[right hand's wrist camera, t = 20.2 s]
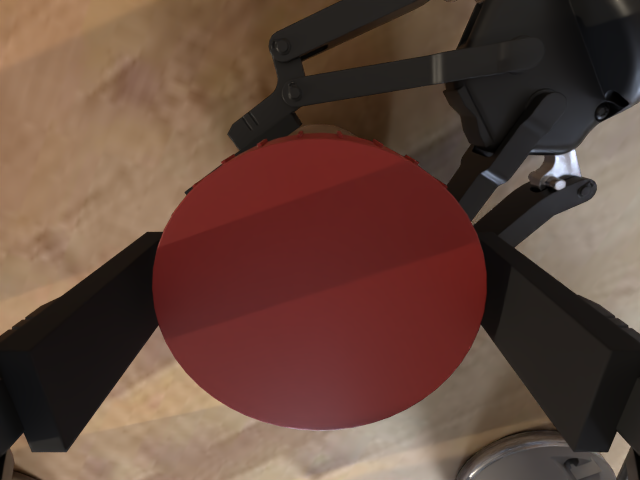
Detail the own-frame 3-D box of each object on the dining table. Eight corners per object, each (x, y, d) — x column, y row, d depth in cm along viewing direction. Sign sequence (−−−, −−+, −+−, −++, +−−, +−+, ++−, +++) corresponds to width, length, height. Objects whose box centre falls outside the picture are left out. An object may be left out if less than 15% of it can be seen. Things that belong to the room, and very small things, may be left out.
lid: (422, 73, 10) (442, 67, 8) (494, 349, 13) (518, 383, 11) (112, 202, 11) (77, 219, 9) (251, 422, 14) (243, 462, 13)
